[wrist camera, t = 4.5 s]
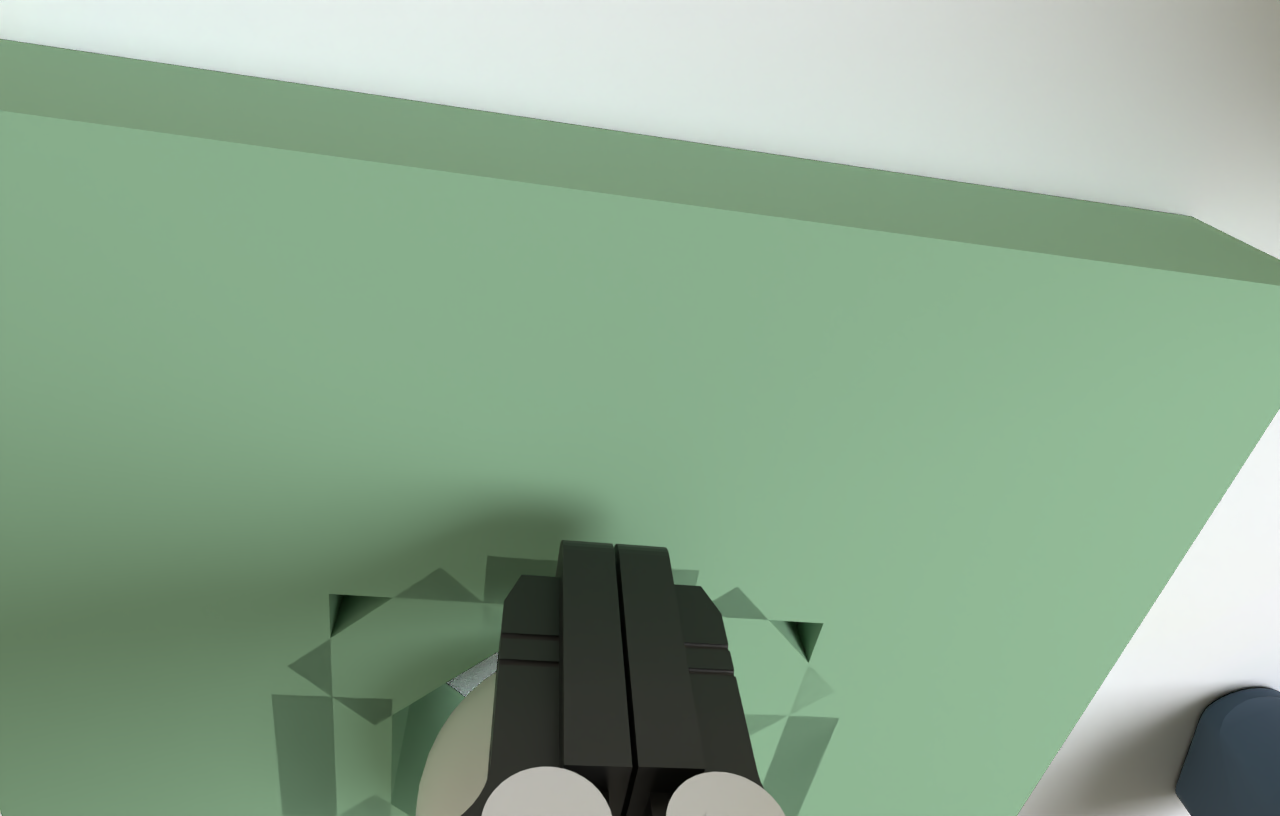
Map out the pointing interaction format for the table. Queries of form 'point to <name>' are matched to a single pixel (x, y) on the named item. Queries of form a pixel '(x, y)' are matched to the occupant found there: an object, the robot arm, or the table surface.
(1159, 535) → the green
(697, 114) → the table surface
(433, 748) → the ball
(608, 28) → the table surface
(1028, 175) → the table surface
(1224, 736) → the vaping device
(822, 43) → the table surface
